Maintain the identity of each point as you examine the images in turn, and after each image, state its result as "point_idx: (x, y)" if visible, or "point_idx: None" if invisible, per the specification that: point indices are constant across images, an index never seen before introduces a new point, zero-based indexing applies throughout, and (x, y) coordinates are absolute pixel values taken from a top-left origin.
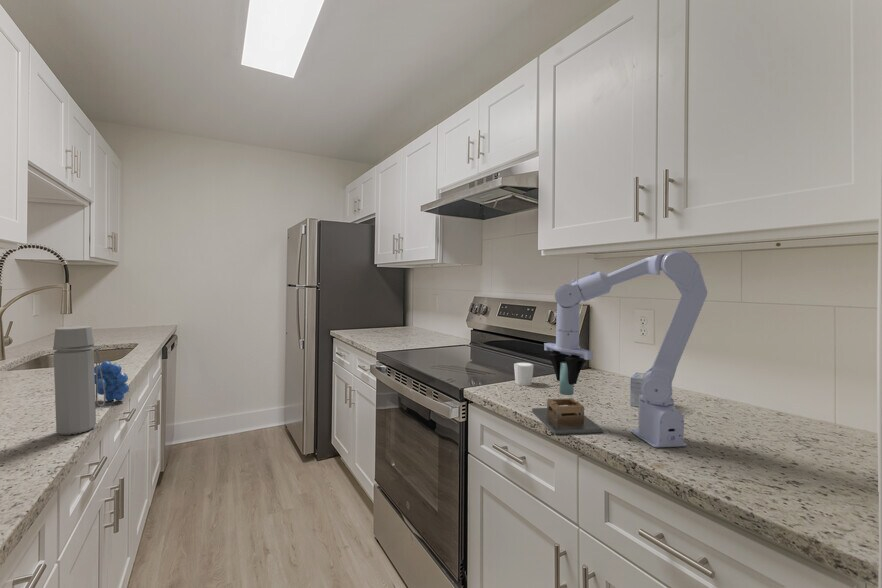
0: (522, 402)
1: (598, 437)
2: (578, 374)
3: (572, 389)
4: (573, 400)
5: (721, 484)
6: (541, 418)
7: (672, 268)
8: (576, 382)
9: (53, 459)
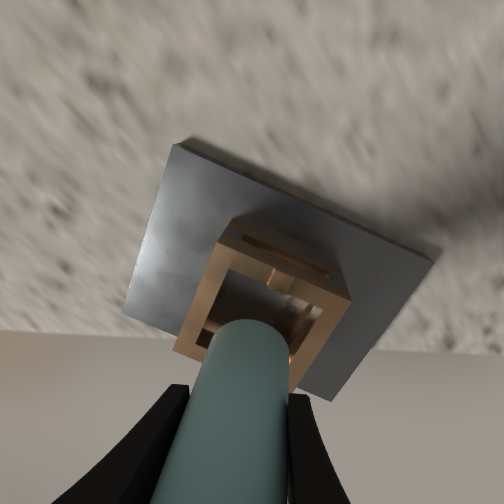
0: (16, 257)
1: (440, 302)
2: (329, 464)
3: (287, 373)
4: (249, 266)
5: None
6: None
7: None
8: (309, 403)
9: None
